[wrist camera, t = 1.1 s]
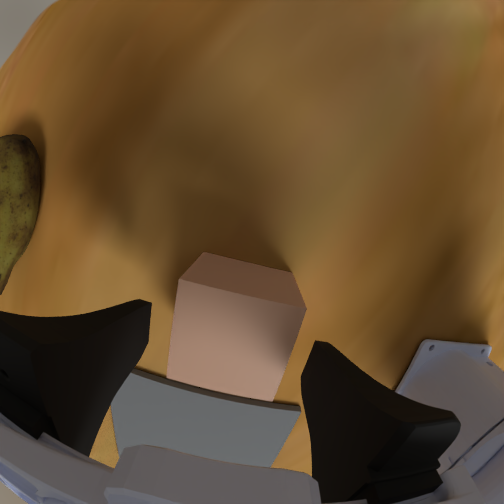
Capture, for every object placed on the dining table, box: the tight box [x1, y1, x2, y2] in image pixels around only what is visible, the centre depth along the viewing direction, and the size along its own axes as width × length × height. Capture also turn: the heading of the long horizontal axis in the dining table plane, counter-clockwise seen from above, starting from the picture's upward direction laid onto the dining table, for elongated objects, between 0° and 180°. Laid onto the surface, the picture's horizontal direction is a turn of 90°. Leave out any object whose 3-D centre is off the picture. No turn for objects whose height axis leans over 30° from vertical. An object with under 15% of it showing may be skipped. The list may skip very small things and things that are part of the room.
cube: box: [167, 252, 307, 401], centre depth 13 cm, size 5×5×5 cm
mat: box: [111, 368, 301, 468], centre depth 18 cm, size 14×14×1 cm
